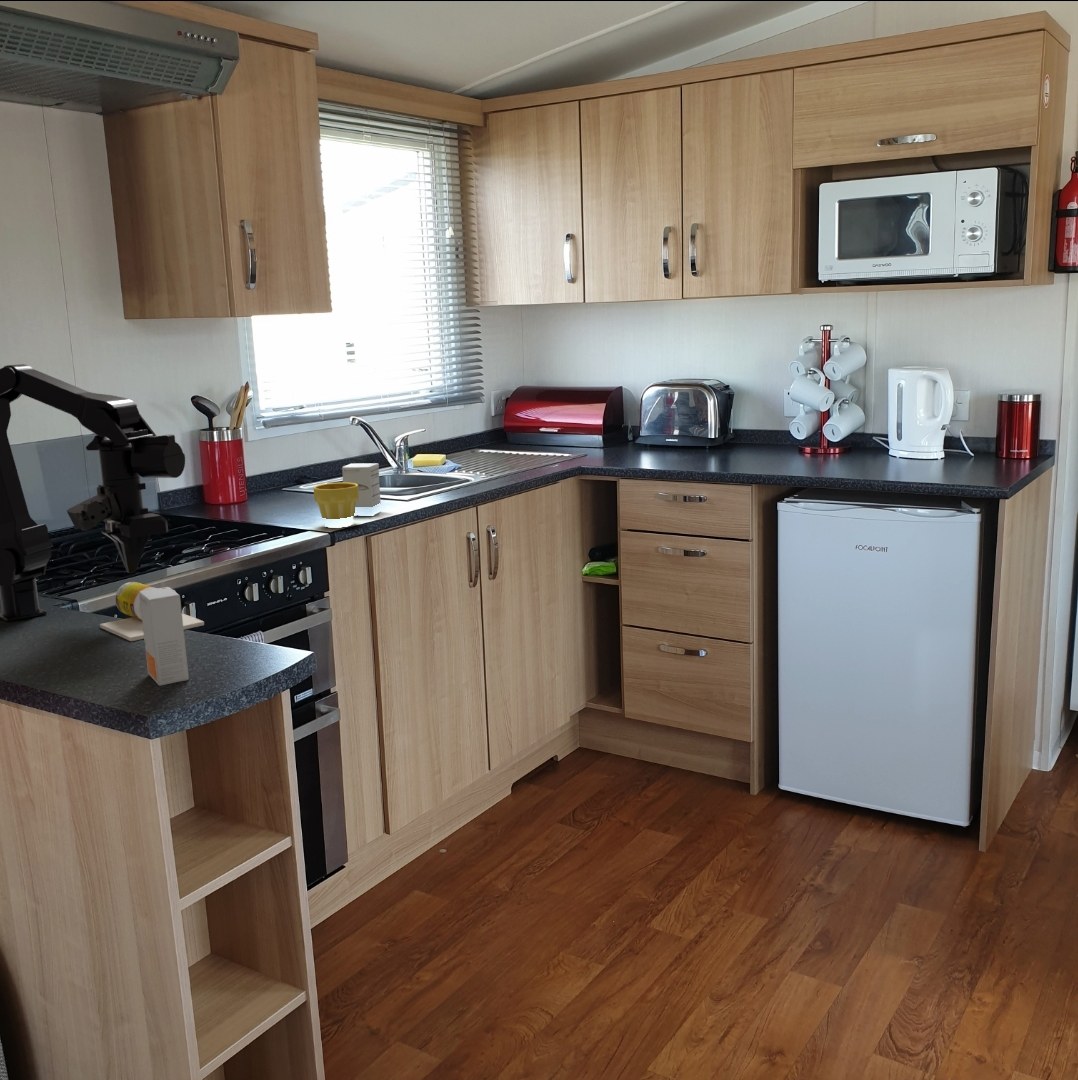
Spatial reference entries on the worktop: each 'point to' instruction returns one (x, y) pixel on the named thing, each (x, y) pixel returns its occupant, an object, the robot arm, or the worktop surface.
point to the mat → (141, 627)
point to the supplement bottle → (130, 598)
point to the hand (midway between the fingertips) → (131, 572)
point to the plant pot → (336, 499)
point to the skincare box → (164, 635)
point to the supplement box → (364, 482)
